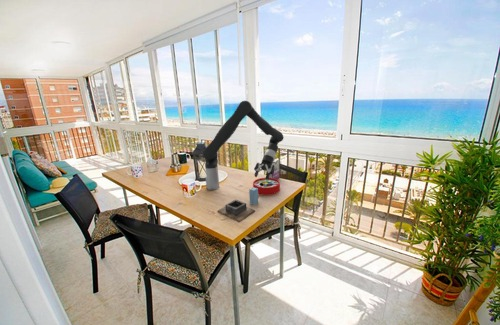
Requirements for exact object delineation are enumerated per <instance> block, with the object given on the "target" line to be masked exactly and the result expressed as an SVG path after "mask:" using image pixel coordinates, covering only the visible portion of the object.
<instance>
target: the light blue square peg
mask: <svg viewBox="0 0 500 325" xmlns="http://www.w3.org/2000/svg"><path fill="white" fill-rule="evenodd" d="M248 193H249V194H248V195H249V204H251V205H254V206H256V205H257V204H258V203H259V194H258V188H254V187H253V186H252V187H251V188H249V192H248Z"/></svg>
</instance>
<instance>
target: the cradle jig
mask: <svg viewBox="0 0 500 325" xmlns="http://www.w3.org/2000/svg"><path fill="white" fill-rule="evenodd" d="M255 212H256V210H255V209H254V208H252V207H248V206H247V203H246V202H243V201H241V200H239V199H234V200H232V201H230V202H228V203H226V204H225V205H224V206H223V207H221V208H219V209H218V210H217V213H219V214H222V215H223V216H225V217H227V218H230V219H231V220H232V219H233V220H234V221H236V222H238V223H240V222H241V221H243V220H245V219H246V218H247V217H249V216H251V215H253V213H255Z"/></svg>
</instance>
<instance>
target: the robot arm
mask: <svg viewBox="0 0 500 325" xmlns="http://www.w3.org/2000/svg"><path fill="white" fill-rule="evenodd" d="M245 117H248V118H249V119H250V120H252V122H254V124H255V125H256V126H257V128H259V129H260V131H262V132H263V133H264V134H265V136H271V137H270V138H269V143H268V146H267V148H266V150H265V153H264V155H263V157H262V160H261V163H259V162H256V164H255V166H254V169H253V170H254V171H255V173H254V177H255V178H257V177H258V175H259V173H260V172H261V171H265V172H267V173H266V175H265V178H266V179H268V178H269V176H270V174H274V170H275V166H274V165H272V164H273V161H274V159H276V157H277V156H276V155H277V152H278V151H279V150H278V149H279V147H278V144H279V143H280V142H282V141H284V135H283V133H282V132H281V131H280V130H278V129H276V127H273V126H272V125H271V124H270V123H269V121H268V120H265V119H264V118H263V117H262V116H261V115H260V114H259V113H258V112H257V111H256V110H255V108H254V107H253V106H252V103H251V102H250V101H248V100H242V101H240V102H239V104H238V106H237V107H236V109H235V110H234V112H233V114H232V115H231V116H230V117H229V118H227V120H226V121H225V122H224V123H223V125H222V126H221V127H220V129H219V131H218V132H217V133H216V135H215V136H214V138H213V139H212V141H210V143H209V144H208V145H207V146H206V147H205V148H204V150H202V156H203V157H204V159H205V162H204V164H205V165H204V166H205V167H204V168H205V186H206V189H207V190H210V191H211V190H212V191H215V190H218V189H219V188H220V180H219V179H220V178H219V168H218V164H219V162H218V151H219V150H220V149H221V147H222V146H223V145H224V144H225V143H226V142H227V141H228V140H229V139H230V138H231V137H232V136H233V134H234V133H235V132H236V130H237V128H238V127H239V125H240V123H241V122H242V121H243V120H244V119H245ZM270 168H272V169H271V172H270Z"/></svg>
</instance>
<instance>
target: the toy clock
mask: <svg viewBox="0 0 500 325" xmlns="http://www.w3.org/2000/svg"><path fill="white" fill-rule="evenodd" d="M280 182H281V181H279V179H273V178H268V179H266V177H261V178H257V179H255V180H253V181H252V187H254V188H258V195H262V196H271V195H272V196H273V195H275V194H277V193H279V192H280V190H281V187H280V186H281V185H280Z"/></svg>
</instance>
